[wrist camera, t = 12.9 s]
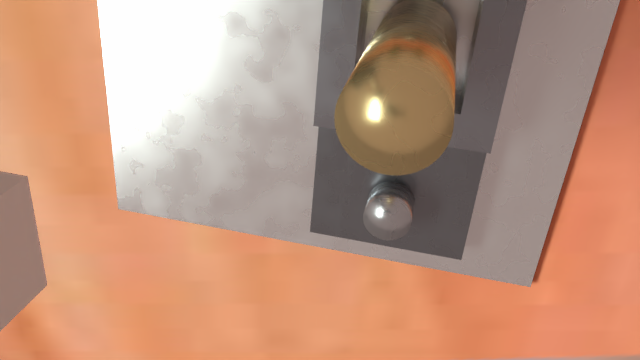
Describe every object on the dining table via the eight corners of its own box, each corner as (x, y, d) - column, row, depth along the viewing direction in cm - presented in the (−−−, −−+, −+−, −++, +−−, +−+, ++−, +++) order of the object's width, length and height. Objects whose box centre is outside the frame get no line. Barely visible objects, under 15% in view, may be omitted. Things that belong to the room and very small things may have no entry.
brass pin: (383, -7, 29) (340, 55, 19) (463, 3, 29) (464, 72, 18) (373, 70, 31) (329, 165, 21) (448, 80, 31) (442, 184, 20)
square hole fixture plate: (71, -323, 26) (-15, -368, 22) (709, -297, 22) (776, -346, 18) (122, 205, 40) (75, 249, 35) (529, 282, 36) (540, 344, 31)
